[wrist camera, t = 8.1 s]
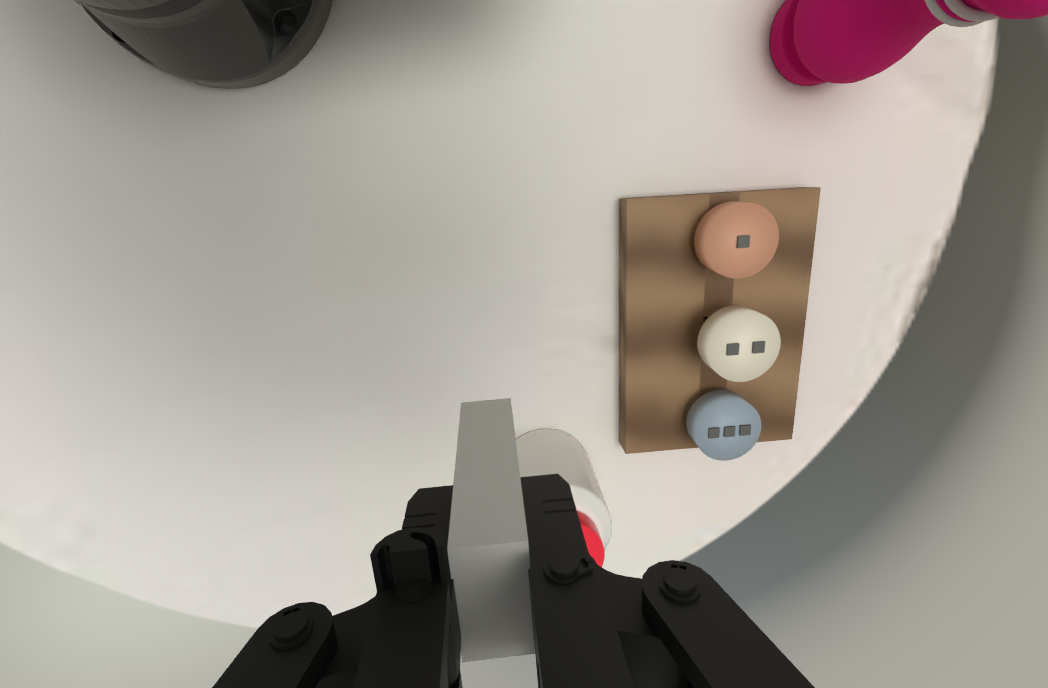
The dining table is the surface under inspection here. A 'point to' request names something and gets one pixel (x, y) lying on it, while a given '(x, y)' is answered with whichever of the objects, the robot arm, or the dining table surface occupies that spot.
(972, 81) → the dining table surface
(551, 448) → the pill bottle
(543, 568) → the robot arm
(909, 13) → the pepper mill
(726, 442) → the button
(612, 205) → the dining table surface
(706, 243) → the button
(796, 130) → the dining table surface
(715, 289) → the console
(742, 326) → the button
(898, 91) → the dining table surface
